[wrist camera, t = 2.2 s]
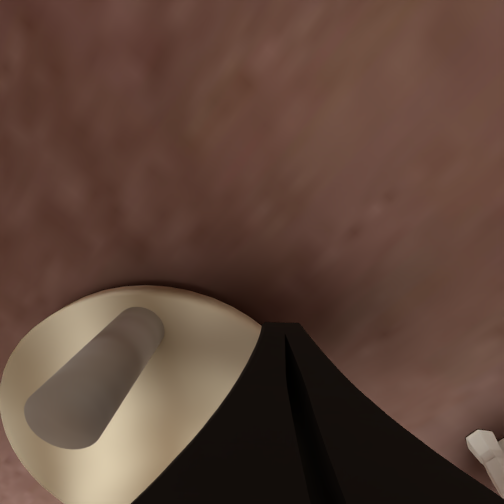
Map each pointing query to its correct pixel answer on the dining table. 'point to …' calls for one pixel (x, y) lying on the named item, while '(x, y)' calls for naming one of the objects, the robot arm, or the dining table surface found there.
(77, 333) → the turntable
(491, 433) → the toy robot
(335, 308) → the dining table surface
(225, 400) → the robot arm
